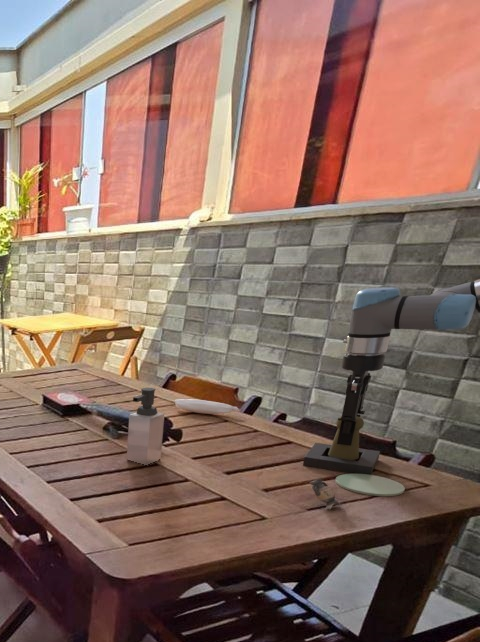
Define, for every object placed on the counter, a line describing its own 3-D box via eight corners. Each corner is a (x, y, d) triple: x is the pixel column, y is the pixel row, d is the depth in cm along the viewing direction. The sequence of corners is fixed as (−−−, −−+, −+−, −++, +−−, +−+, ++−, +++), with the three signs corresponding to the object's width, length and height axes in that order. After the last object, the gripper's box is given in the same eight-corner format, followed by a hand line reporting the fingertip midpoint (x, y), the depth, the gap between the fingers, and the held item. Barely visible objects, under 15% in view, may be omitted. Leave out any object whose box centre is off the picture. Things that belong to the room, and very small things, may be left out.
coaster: (407, 482, 118) (407, 480, 117) (400, 500, 110) (401, 498, 110) (340, 472, 126) (340, 469, 126) (330, 488, 119) (331, 485, 119)
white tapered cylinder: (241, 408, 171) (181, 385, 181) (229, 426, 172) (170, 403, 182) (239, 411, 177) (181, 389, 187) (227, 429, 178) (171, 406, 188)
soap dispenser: (121, 462, 148) (125, 391, 140) (140, 454, 151) (145, 385, 144) (141, 468, 142) (146, 394, 135) (160, 460, 146) (166, 388, 138)
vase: (299, 502, 115) (303, 479, 113) (317, 497, 116) (322, 474, 114) (323, 511, 110) (329, 487, 108) (343, 507, 111) (348, 483, 109)
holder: (378, 459, 130) (380, 451, 129) (370, 476, 122) (372, 467, 122) (313, 450, 140) (315, 442, 139) (302, 465, 132) (304, 456, 131)
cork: (325, 457, 131) (333, 418, 127) (330, 450, 134) (337, 412, 131) (356, 461, 126) (365, 421, 123) (360, 454, 130) (369, 414, 126)
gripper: (350, 346, 129) (334, 429, 137) (337, 359, 119) (320, 448, 126) (390, 347, 124) (371, 433, 132) (380, 360, 113) (359, 454, 121)
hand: (346, 440), depth 129 cm, fingers closed on cork, 5 cm apart
